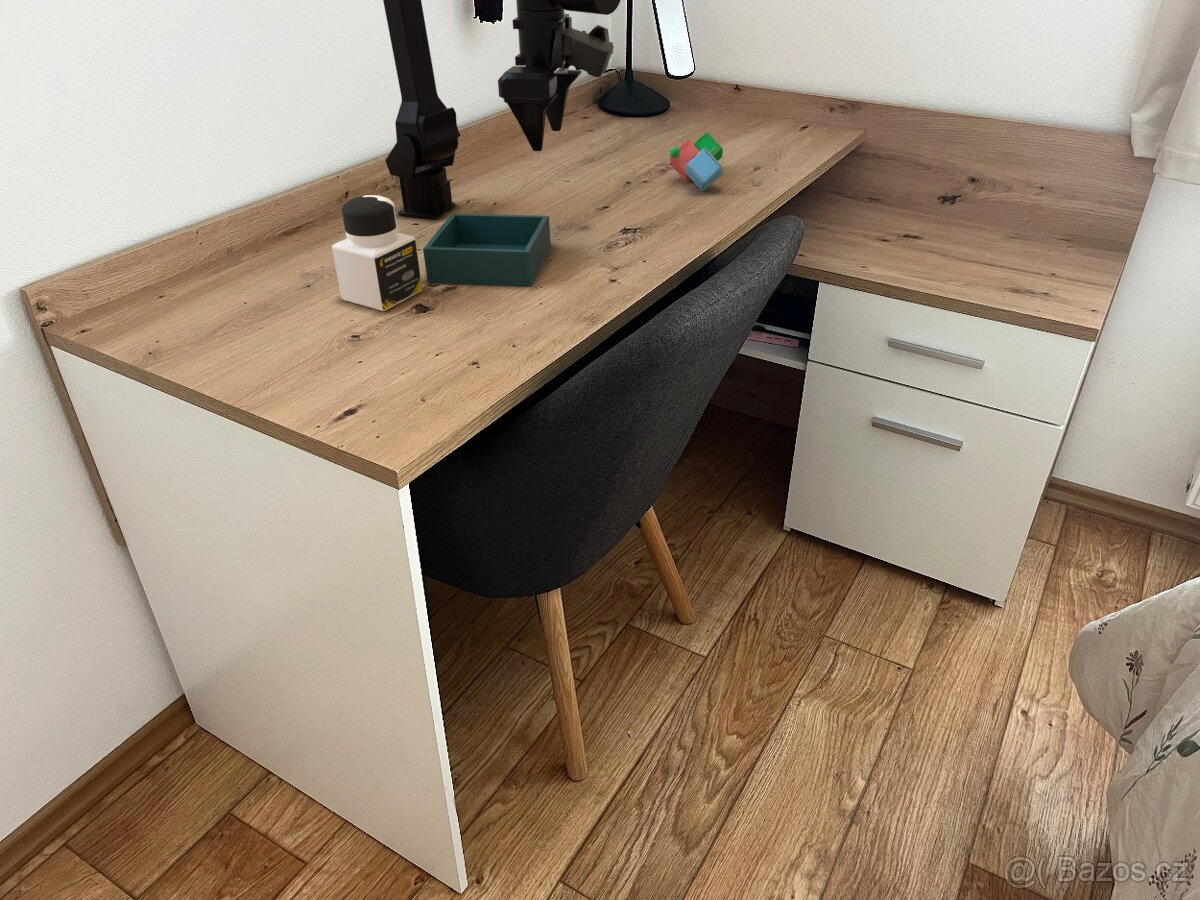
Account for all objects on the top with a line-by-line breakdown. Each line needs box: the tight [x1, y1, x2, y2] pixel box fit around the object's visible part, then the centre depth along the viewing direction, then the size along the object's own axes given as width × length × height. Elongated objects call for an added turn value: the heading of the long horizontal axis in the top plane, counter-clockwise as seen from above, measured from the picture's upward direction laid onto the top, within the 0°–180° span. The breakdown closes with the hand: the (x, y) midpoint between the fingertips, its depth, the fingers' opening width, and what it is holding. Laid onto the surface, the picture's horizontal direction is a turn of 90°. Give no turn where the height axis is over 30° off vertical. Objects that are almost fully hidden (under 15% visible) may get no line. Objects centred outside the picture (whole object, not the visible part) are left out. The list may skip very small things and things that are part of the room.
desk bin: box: [422, 212, 552, 287], centre depth 122 cm, size 13×13×4 cm
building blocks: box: [669, 131, 724, 192], centre depth 148 cm, size 8×8×12 cm
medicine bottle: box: [331, 194, 423, 312], centre depth 112 cm, size 7×7×12 cm
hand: (547, 140), depth 120 cm, fingers open, 9 cm apart
